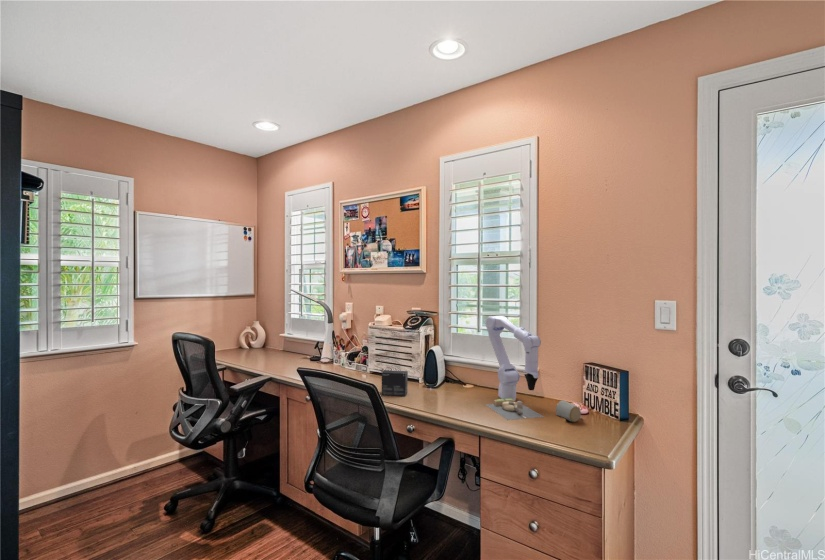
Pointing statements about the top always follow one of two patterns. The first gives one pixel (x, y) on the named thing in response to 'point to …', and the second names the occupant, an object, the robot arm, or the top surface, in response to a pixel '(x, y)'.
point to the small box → (394, 383)
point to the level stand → (512, 414)
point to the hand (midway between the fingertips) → (531, 389)
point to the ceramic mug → (568, 411)
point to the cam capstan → (513, 406)
